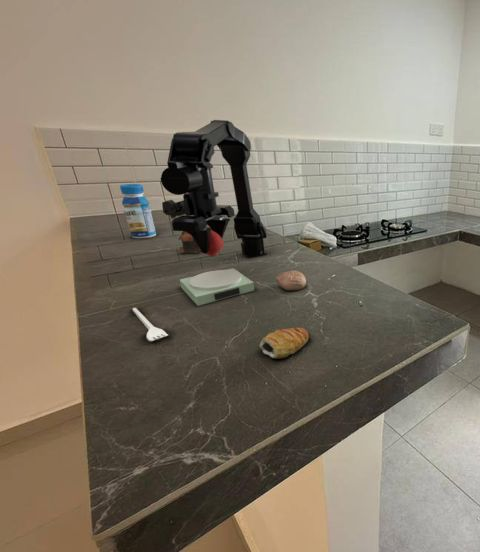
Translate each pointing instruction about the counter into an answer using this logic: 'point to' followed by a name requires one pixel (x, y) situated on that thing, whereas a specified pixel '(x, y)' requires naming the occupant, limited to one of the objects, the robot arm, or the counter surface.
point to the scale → (216, 285)
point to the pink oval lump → (291, 280)
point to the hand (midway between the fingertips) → (211, 249)
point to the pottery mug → (188, 243)
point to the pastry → (284, 342)
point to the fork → (150, 328)
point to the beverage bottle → (137, 211)
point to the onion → (214, 244)
